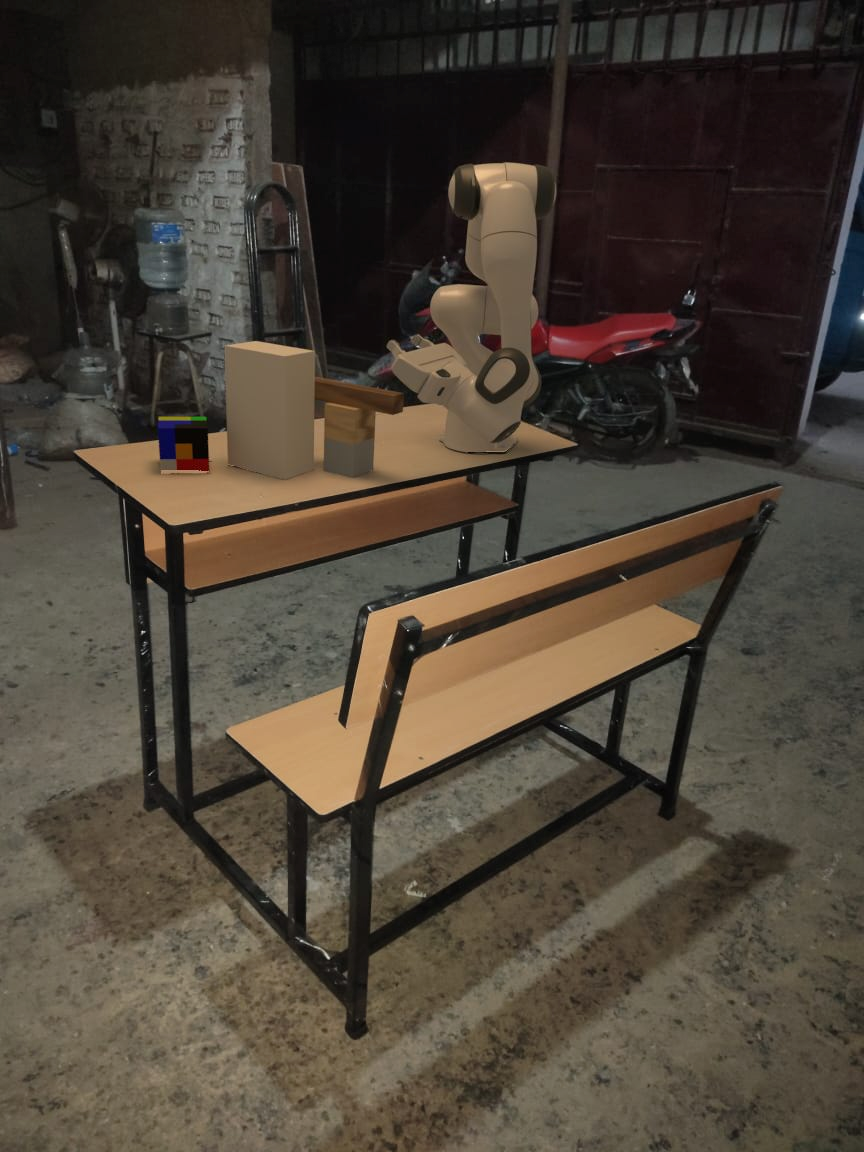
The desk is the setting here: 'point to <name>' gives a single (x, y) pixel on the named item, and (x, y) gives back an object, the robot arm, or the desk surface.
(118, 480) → the desk surface
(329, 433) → the tower top
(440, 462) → the desk surface
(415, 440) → the desk surface
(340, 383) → the walnut bar
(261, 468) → the tall beige box
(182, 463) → the puzzle toy
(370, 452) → the tower bottom
